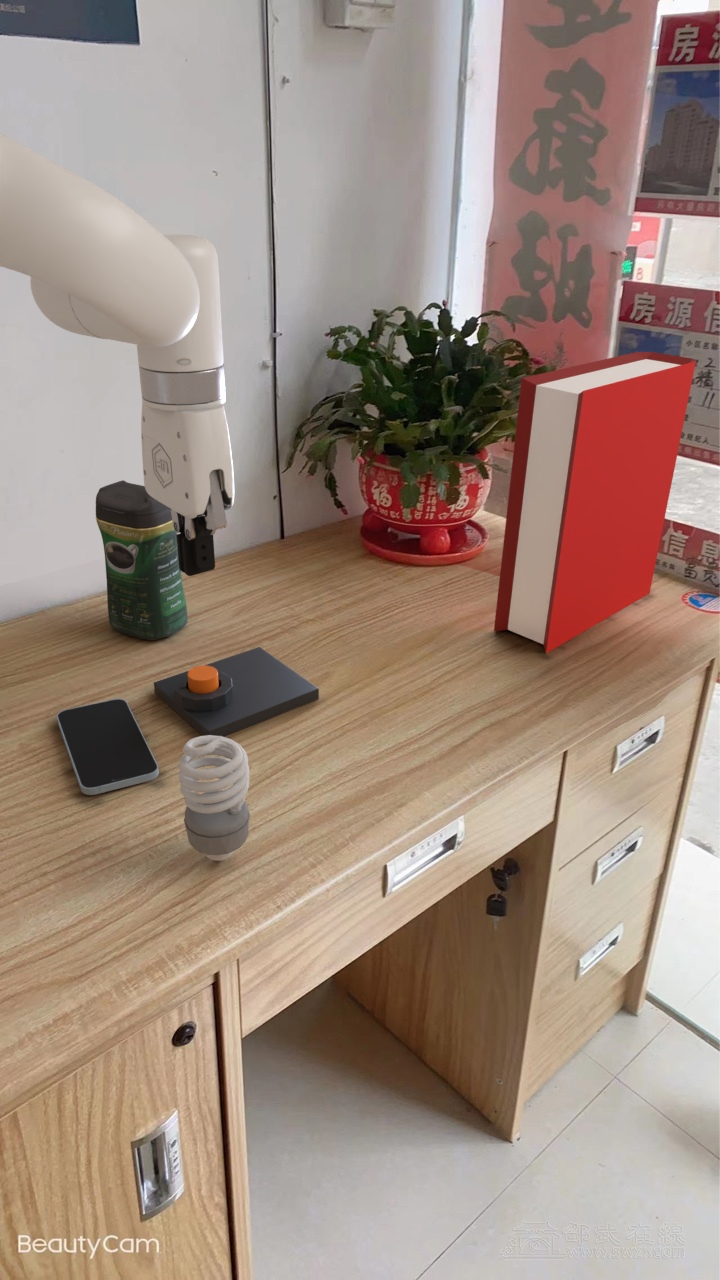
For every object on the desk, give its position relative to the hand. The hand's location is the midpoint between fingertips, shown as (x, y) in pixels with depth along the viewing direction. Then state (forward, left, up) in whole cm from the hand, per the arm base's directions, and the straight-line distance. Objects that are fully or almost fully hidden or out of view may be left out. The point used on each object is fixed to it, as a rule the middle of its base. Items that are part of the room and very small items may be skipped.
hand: (197, 570), depth 89 cm
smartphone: (-12, -1, -16) cm, 20 cm away
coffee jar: (+4, +21, -17) cm, 27 cm away
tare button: (0, 0, -14) cm, 14 cm away
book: (+53, -9, -17) cm, 56 cm away
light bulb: (-11, -22, -17) cm, 29 cm away
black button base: (+4, 0, -16) cm, 17 cm away
